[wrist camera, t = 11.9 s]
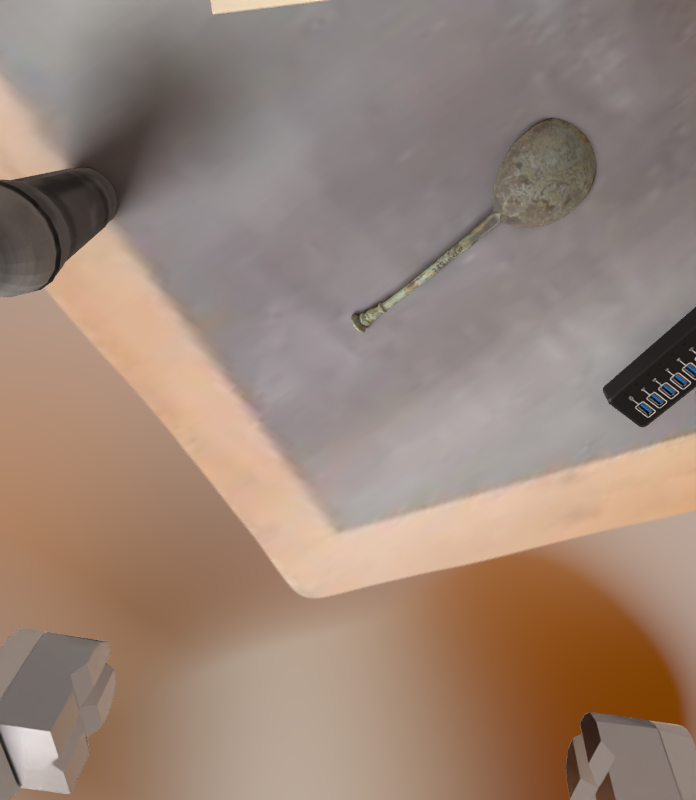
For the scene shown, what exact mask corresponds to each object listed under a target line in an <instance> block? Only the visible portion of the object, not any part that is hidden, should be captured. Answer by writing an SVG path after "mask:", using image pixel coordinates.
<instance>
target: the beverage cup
mask: <svg viewBox="0 0 696 800" xmlns="http://www.w3.org/2000/svg"><path fill="white" fill-rule="evenodd" d="M117 206H118V202H117V195H116V193H115V190H114V188H113V186H112V184H111V183H110V182H109V181H108V179H107V178H106V177H105V176H103V175H102V174H101V173H99V172H98V171H96V170H93V169H91V168H83V167H80V168H76V169H65V170H60V171H55V172H50V173H45V174H40V175H35V176H30V177H25V178H20V179H15V180H0V297H13V296H17V295H21V294H25V293H30V292H33V291H37V290H41V289H42V288H44V287H45V286H46V285H48V284H49V283H51V282H52V281H53V279H54V278H55V276H56V275H57V273H58V272H59V271H60V269H61V268H62V267H63V265H64V263H65V262H66V261H67V260H68V259H69V258H70V257H71V256H72V255H74V254H75V253H76V252H77V251H78V250H79V249H80V248H81V247H83V246H84V245H85V244H86V243H87V242H88V241H89V240H91V239H92V238H93V237H94V236H95V235H96V234H97V233H99V232H100V231H101V230H102V229H103V228H104V227H105V226H106V225H107V223H108V222H109V221H110V220H112V219H113V217H114V215H115V214H116V211H117Z"/></svg>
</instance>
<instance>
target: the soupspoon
mask: <svg viewBox="0 0 696 800" xmlns="http://www.w3.org/2000/svg"><path fill="white" fill-rule="evenodd" d="M595 169H596V163H595V157H594V153H593V150H592V147H591V145H590V143H589V141H588V140H587V138H586V137H585V136H584V135H583V133H582V132H581V131H579V130H578V129H577V128H576V127H574V126H573V125H571V124H570V123H568V122H565V121H563V120H559V119H553V118H552V119H548V120H545V121H543V122H541V123H539V124H537V125H535V126H534V127H532V128H531V129H529V130H528V131H527V132H526V133H525V134H523V136H521V137H520V138H519V139H518V140H517V142H516V143H515V144H514V145H513V146H512V148H511V149H510V151H509V152H508V154H507V156H506V157H505V159H504V161H503V162H502V165H501V167H500V169H499V172H498V175H497V178H496V181H495V186H494V190H493V212H492V213H491V214H490V215H489V216H488V217H487V218H486V219H485V220H484V221H482V222H481V223H480V224H479V225H478V226H477V227H475V228H474V229H473V230H472V231H471V232H470V233H469V234H467V235H466V236H465V237H464V238H463V239H462V240H460V241H459V242H458V243H457V244H456V245H455V246H453V247H452V248H451V249H450V250H448V251H447V252H446V253H445V254H444V255H442V256H441V257H440V258H439V259H438V260H436V261H435V262H434V263H433V264H431V265H430V266H429V267H428V268H427V269H426V270H424V271H423V272H422V273H421V274H420V275H418V276H417V277H416V278H415V279H414V280H412V281H411V282H410V283H408V284H407V285H406V286H405V287H403V288H402V289H401V290H399V291H398V292H397V293H396V294H394V295H393V296H392V297H391V298H390V299H388V300H387V301H386V302H383V303H382V302H380V303H379V304H378V307H375V308H371V309H369V310H368V311H367V312H366V313H361V314H360V317H359V316H358V315H355V314H353V315H352V316H351V321H352V324H353V325H354V327H355V328H356V329H357V330H358V331H359V332H361V333H364V332H365V331H366V326H368V325H370V323H371V321H374V320H375V319H376V318H378V317H379V316H380V314H381V313H386V312H387V310H388V308H390V307H391V306H393V305H394V304H396V303H397V302H399V301H400V300H401V299H403V298H404V297H406V296H407V295H408V294H410V293H411V292H412V291H414V290H415V289H416V288H418V287H419V286H420V285H422V284H423V283H424V282H426V281H427V280H428V279H429V278H431V277H432V276H433V275H435V274H436V273H437V272H438V271H440V270H441V269H442V268H443V267H445V266H446V265H447V264H448V263H450V262H451V261H452V260H453V259H455V258H456V257H457V256H459V255H460V254H461V253H463V252H464V251H465V250H466V249H468V248H469V247H470V246H472V245H473V244H474V243H476V242H477V241H478V240H479V239H481V238H482V237H483V236H484V235H485V234H487V233H488V232H489V231H490V230H492V229H493V228H494V227H495V226H496V225H498V224H499V223H501V222H502V223H505V224H509V225H512V226H516V227H525V228H528V227H539V226H544V225H548V224H551V223H553V222H556V221H558V220H559V219H561V218H563V217H565V216H566V215H568V214H569V213H570V212H571V211H572V210H573V209H574V208H576V207H577V205H578V204H579V203H580V202H581V201H582V200H583V199H584V198H585V197H586V195H587V193H588V192H589V189H590V187H591V185H592V182H593V178H594V175H595Z"/></svg>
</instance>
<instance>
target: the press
mask: <svg viewBox="0 0 696 800" xmlns="http://www.w3.org/2000/svg"><path fill="white" fill-rule="evenodd" d="M210 1H211V6H212V12H213V14H217V15H219V14H227V13H235V12H243V11H251V10H259V9H267V8H275V7H283V6H291V5H299V4H307V3H315V2H323V1H331V0H210Z"/></svg>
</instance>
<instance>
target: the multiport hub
mask: <svg viewBox="0 0 696 800" xmlns="http://www.w3.org/2000/svg"><path fill="white" fill-rule="evenodd" d="M695 387H696V307H695V308H694V309H693V310H692V311H691V312H689V313H688V314H687V315H686V316H685V317H684V318H683V319H681V320H680V321H679V322H678V323H677V324H676V325H674V326H673V327H672V328H671V329H670V330H669V331H668V332H666V333H665V334H664V335H663V336H662V337H661V338H660V339H658V340H657V341H656V342H655V343H654V344H653V345H651V346H650V347H649V348H648V349H647V350H646V351H645V352H643V353H642V354H641V355H640V356H639V357H638V358H637V359H635V360H634V361H633V362H632V363H631V364H630V365H629V366H627V367H626V368H625V369H624V370H623V371H622V372H620V373H619V374H618V375H617V376H616V377H615V378H614V379H612V380H611V381H610V382H609V383H608V384H607V385H606V386H604V388H603V392H604V394H605V396H606V398H607V400H608V402H609V404H610V405H612V406H613V407H614V408H616V409H617V410H618V411H620V412H621V413H622V414H624V415H625V416H626V417H628V418H629V419H630V420H632V421H633V422H634V423H636V424H637V425H638V426H640V427H645V426H647V425H649V424H650V423H651V422H652V421H654V420H655V419H656V418H657V417H659V416H660V415H661V414H662V413H664V412H665V411H666V410H667V409H669V408H670V407H671V406H672V405H674V404H675V403H676V402H677V401H679V400H680V399H681V398H682V397H684V396H685V395H686V394H687V393H689V392H690V391H691V390H693V389H694V388H695Z"/></svg>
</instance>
